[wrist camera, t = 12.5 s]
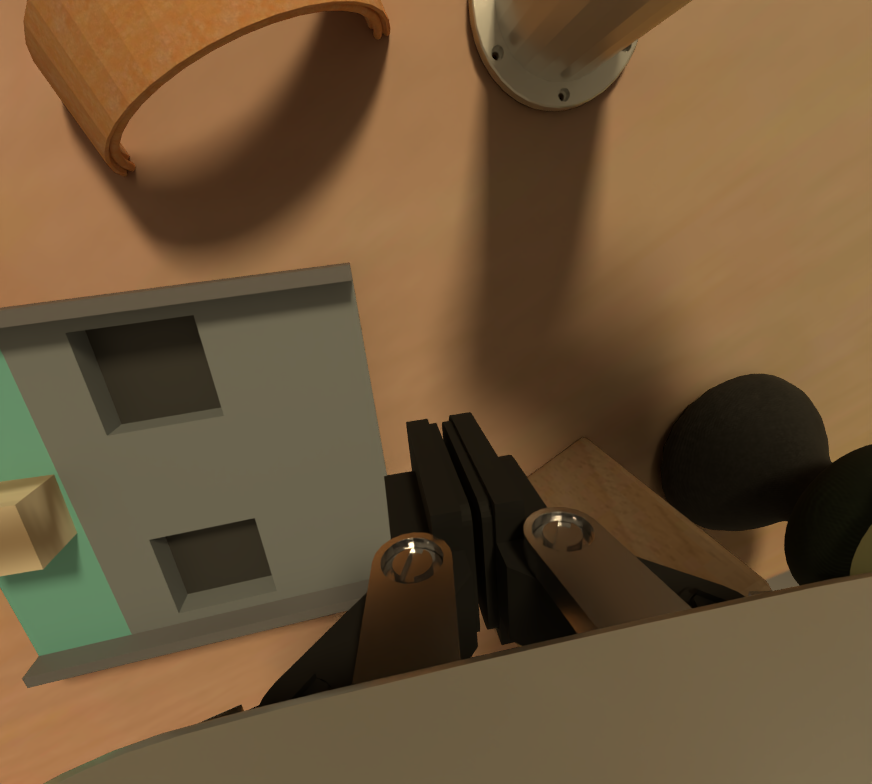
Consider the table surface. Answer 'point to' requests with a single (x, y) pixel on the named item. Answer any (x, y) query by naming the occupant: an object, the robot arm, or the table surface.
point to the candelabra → (772, 475)
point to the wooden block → (638, 516)
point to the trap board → (192, 463)
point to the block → (32, 524)
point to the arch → (145, 50)
